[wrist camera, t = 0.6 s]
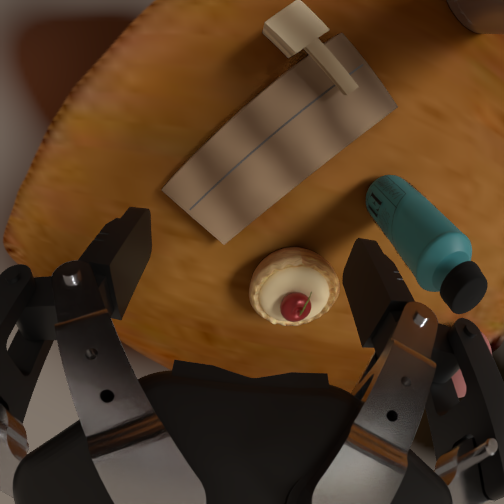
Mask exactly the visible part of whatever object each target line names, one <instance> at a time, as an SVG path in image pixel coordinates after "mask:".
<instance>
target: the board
mask: <svg viewBox="0 0 504 504" xmlns="http://www.w3.org/2000/svg"><path fill="white" fill-rule="evenodd" d="M324 45H325V46H326V47H327V48H328V50H329V51H330V52H331V53H332V54H333V55H334V56H335V58H336V59H337V60H338V61H339V62H340V64H341V65H342V66H343V67H344V68H345V70H346V71H347V72H348V73H349V75H350V76H351V77H352V78H353V80H354V81H355V82H356V84H357V85H358V86H359V87H358V88H357V89H355V90H354V91H353V92H351V93H350V94H349V95H343V94H342V93H341V91H340V90H339V89H338V88H337V86H336V85H335V84H334V83H333V82H332V80H331V79H330V78H329V77H328V76H327V75H326V73H325V72H324V71H323V70H322V69H321V68H320V66H319V65H318V64H317V63H316V62H315V61H314V60H313V59H312V58H311V56H310V55H309V54H308V55H307V56H306V57H304V58H303V59H302V60H300V61H299V62H298V63H296V64H295V65H294V66H293V67H291V68H290V69H289V70H287V71H286V72H285V73H284V74H282V75H281V76H280V77H279V78H277V79H276V80H275V81H274V82H272V83H271V84H270V85H269V86H268V87H266V88H265V89H264V90H263V91H262V92H260V93H259V94H258V95H257V96H256V97H254V98H253V99H252V100H251V101H250V102H249V103H248V104H246V105H245V106H244V107H243V108H242V109H241V110H240V111H239V112H237V113H236V114H235V115H234V116H233V117H232V118H231V119H230V120H229V121H228V122H226V123H225V124H224V125H223V126H222V127H221V128H220V129H219V130H218V131H217V132H216V133H215V134H214V135H213V136H212V137H211V138H210V139H209V140H207V141H206V142H205V143H204V144H203V145H202V146H201V147H200V148H199V149H198V150H197V151H196V152H195V153H194V154H193V155H192V156H191V157H190V158H189V159H188V160H187V162H186V163H185V164H184V165H183V166H182V167H181V168H180V169H179V170H178V171H177V172H176V173H175V174H174V175H173V176H172V177H171V178H170V179H169V180H168V182H167V183H166V184H165V185H164V187H163V188H162V191H163V192H164V193H165V194H166V195H167V196H168V197H170V198H171V199H172V200H173V201H174V202H175V203H176V204H178V205H179V206H180V207H181V208H182V209H183V210H184V211H186V212H187V213H188V214H189V215H190V216H191V217H192V218H194V219H195V220H196V221H197V222H198V223H199V224H200V225H202V226H203V227H204V228H205V229H206V230H207V231H209V232H210V233H211V234H212V235H213V236H214V237H215V238H217V239H218V240H219V241H220V242H221V243H222V244H226V243H227V242H228V241H229V240H230V239H232V238H233V237H234V236H235V235H237V234H238V233H239V232H240V231H241V230H243V229H244V228H245V227H246V226H247V225H249V224H250V223H251V222H252V221H254V220H255V219H256V218H257V217H258V216H260V215H261V214H262V213H263V212H265V211H266V210H267V209H268V208H269V207H271V206H272V205H273V204H274V203H276V202H277V201H278V200H279V199H281V198H282V197H283V196H284V195H286V194H287V193H288V192H289V191H291V190H292V189H293V188H294V187H296V186H297V185H298V184H299V183H301V182H302V181H303V180H304V179H306V178H307V177H308V176H309V175H311V174H312V173H313V172H314V171H316V170H317V169H318V168H319V167H321V166H322V165H323V164H325V163H326V162H327V161H328V160H330V159H331V158H332V157H333V156H335V155H336V154H337V153H339V152H340V151H341V150H342V149H344V148H345V147H346V146H348V145H349V144H350V143H351V142H353V141H354V140H355V139H357V138H358V137H359V136H360V135H362V134H363V133H364V132H366V131H367V130H368V129H370V128H371V127H372V126H373V125H375V124H376V123H377V122H379V121H380V120H381V119H383V118H384V117H385V116H387V115H388V114H389V113H391V112H392V111H393V110H395V109H396V108H397V107H398V106H397V105H396V103H395V102H394V100H393V99H392V97H391V96H390V94H389V93H388V91H387V90H386V88H385V87H384V85H383V84H382V82H381V81H380V80H379V78H378V77H377V76H376V74H375V73H374V71H373V70H372V69H371V67H370V66H369V65H368V63H367V62H366V61H365V60H364V58H363V57H362V56H361V55H360V53H359V52H358V51H357V50H356V48H355V47H354V46H353V45H352V44H351V42H350V41H349V40H348V39H347V38H346V37H345V35H344V34H343V33H340V34H337V35H335V36H334V37H332V38H331V39H329V40H328V41H327V42H325V43H324Z"/></svg>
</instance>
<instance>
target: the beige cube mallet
mask: <svg viewBox="0 0 504 504" xmlns="http://www.w3.org/2000/svg"><path fill="white" fill-rule="evenodd" d="M329 30H330V29H329V28H328V27H327V26H326V25H325V24H324V23H323V22H322V21H321V20H320V19H319V18H318V17H317V16H316V15H315V14H314V13H313V12H312V11H311V10H310V9H309V8H308V7H307V6H306V5H305V4H304V3H303V2H302V1H301V0H296V1H294V2H293V3H291V4H290V5H289V6H287V7H286V8H284V9H283V10H281V11H280V12H278V13H277V14H276V15H274V16H273V17H271V18H270V19H269V20H267V21H266V22H265V23H264V28H263V32H262V33H263V34H264V35H265V36H266V37H267V38H268V39H269V40H270V41H271V42H272V43H273V44H274V45H275V46H276V47H277V48H279V49H280V50H281V52H282V53H283V54H284V55H285V56H286V57H287V58H290V57H291V56H293V55H295V54H296V53H298V52H299V51H300V50H302V49H304V50H305V51H306V52H307V53H308V54H309V55H310V56H311V58H312V59H313V60H314V61H315V62H316V63H317V64H318V65H319V66H320V68H321V69H322V70H323V71H324V72H325V73H326V75H327V76H328V77H329V78H330V79H331V80H332V82H333V83H334V84H335V85H336V86H337V88H338V89H339V90H340V91H341V93H342V94H343V95H349V94H350V93H351V92H353V91H354V90H355V89H357V88H358V87H359V86H358V85H357V84H356V82H355V81H354V80H353V78H352V77H351V76H350V75H349V73H348V72H347V71H346V70H345V68H344V67H343V66H342V65H341V64H340V62H339V61H338V60H337V59H336V58H335V56H334V55H333V54H332V53H331V52H330V51H329V50H328V48H327V47H326V46H325V45H324V44H323V43H322V42H321V41H320V40H319V39H318V38H319V37H320V36H321V35H323V34H324V33H326V32H327V31H329Z"/></svg>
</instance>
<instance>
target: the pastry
mask: <svg viewBox="0 0 504 504" xmlns="http://www.w3.org/2000/svg"><path fill="white" fill-rule="evenodd" d="M339 291H340V283H339V280H338V277H337V275H336V273H335V271H334V269H333V268H332V266H331V265H330V264H329V263H328V262H327V261H326V260H325V259H324V258H323V257H321V256H320V255H319V254H317V253H315V252H313V251H311V250H308V249H305V248H300V247H288V248H283V249H280V250H277V251H275V252H273V253H271V254H270V255H268V256H267V257H266V258H264V259H263V260H262V261H261V262H260V264H259V265H258V266H257V268H256V269H255V271H254V273H253V275H252V278H251V282H250V288H249V298H250V303H251V305H252V307H253V308H254V310H255V311H256V312H257V313H258V314H259V315H260V316H261V317H262V318H265V319H267V320H268V321H270V322H271V323H272V324H276V323H278V324H281V325H284V326H287V325H290V326H298V325H301V324H305V323H309V322H311V321H312V320H314V319H316V318H319V317H320V316H322V315H323V314H324V313H326V312H328V310H329V309H330V308H331V306H332V305H333V304H334V302H335V301H336V299H337V298H338V295H339Z"/></svg>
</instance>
